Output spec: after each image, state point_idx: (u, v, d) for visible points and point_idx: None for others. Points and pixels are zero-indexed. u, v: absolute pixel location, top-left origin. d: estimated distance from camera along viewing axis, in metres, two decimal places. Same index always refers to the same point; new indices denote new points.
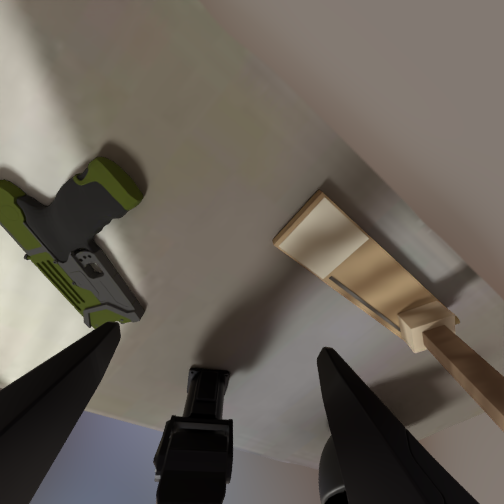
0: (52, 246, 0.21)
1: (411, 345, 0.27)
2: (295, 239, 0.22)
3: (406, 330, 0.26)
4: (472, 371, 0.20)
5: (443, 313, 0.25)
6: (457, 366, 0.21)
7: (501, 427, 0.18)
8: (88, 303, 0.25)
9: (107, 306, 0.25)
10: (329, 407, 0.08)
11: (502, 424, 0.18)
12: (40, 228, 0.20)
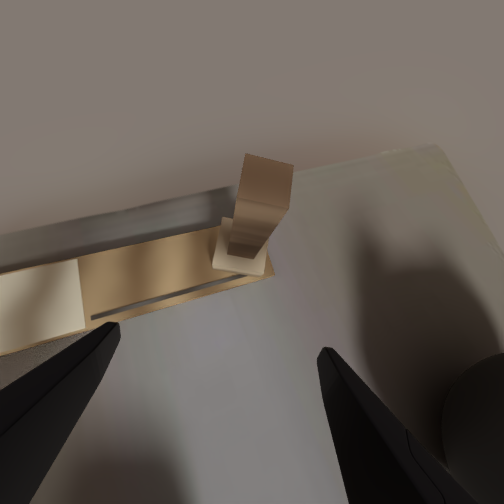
0: None
1: (252, 272, 0.20)
2: (3, 330, 0.17)
3: (227, 269, 0.20)
4: None
5: None
6: None
7: (273, 220, 0.12)
8: None
9: None
10: (329, 407, 0.08)
11: (260, 217, 0.12)
12: None
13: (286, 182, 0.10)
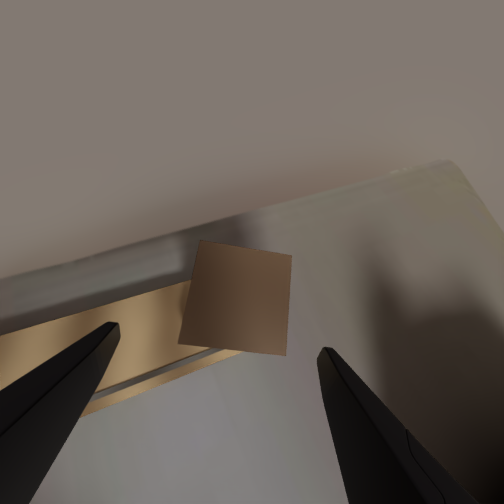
0: None
1: None
2: None
3: None
4: None
5: None
6: None
7: None
8: None
9: None
10: (329, 407, 0.08)
11: None
12: None
13: (279, 294, 0.05)
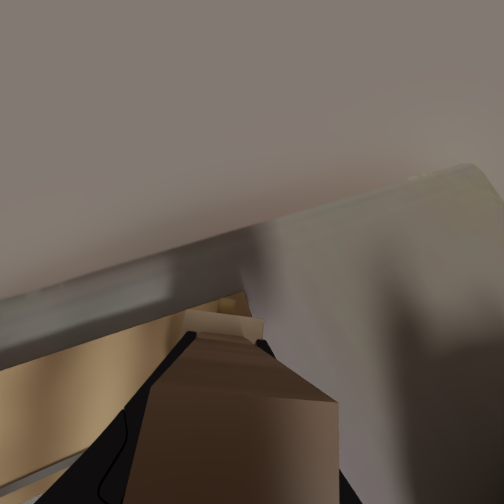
0: None
1: None
2: None
3: None
4: None
5: None
6: None
7: None
8: None
9: None
10: None
11: None
12: None
13: None
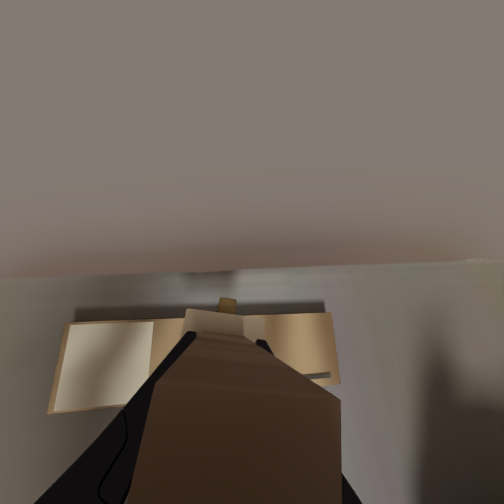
0: None
1: None
2: (71, 385, 0.17)
3: None
4: None
5: None
6: None
7: None
8: None
9: None
10: None
11: None
12: None
13: None
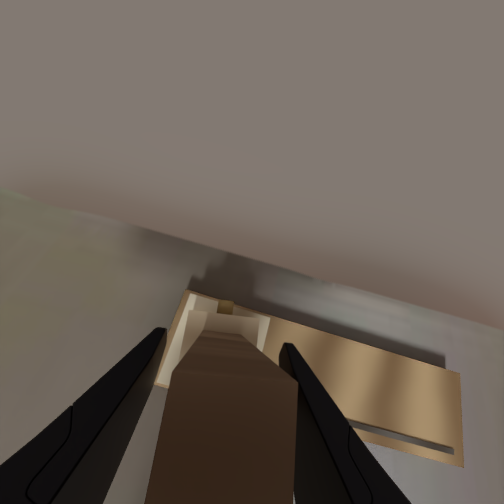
0: None
1: None
2: (178, 360, 0.15)
3: None
4: None
5: None
6: None
7: None
8: None
9: None
10: None
11: None
12: None
13: (281, 449, 0.04)
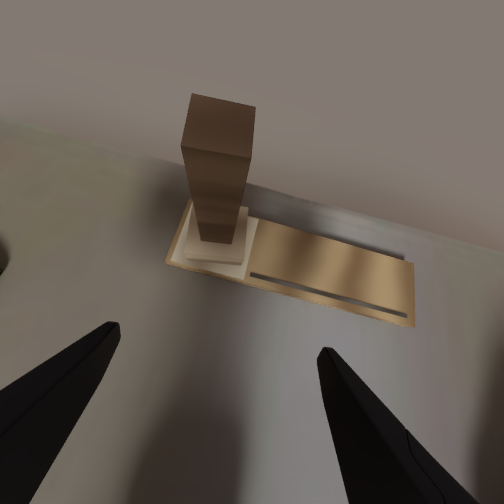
0: None
1: (231, 259, 0.18)
2: None
3: (203, 257, 0.18)
4: None
5: None
6: None
7: (237, 182, 0.09)
8: None
9: None
10: (329, 407, 0.08)
11: (220, 179, 0.09)
12: None
13: (247, 127, 0.08)
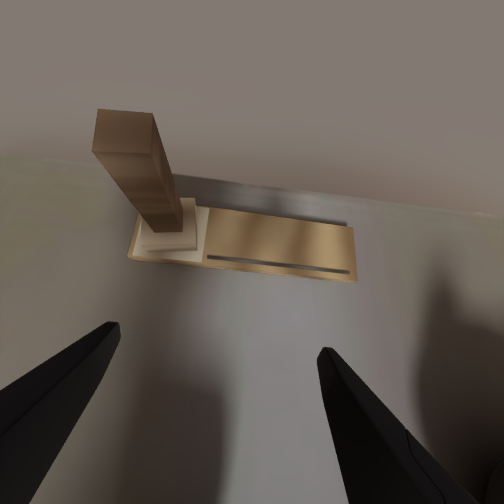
0: None
1: (184, 245, 0.20)
2: None
3: (160, 247, 0.20)
4: None
5: None
6: None
7: (152, 174, 0.12)
8: None
9: None
10: (329, 407, 0.08)
11: (137, 173, 0.12)
12: None
13: (145, 130, 0.11)
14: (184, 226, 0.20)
